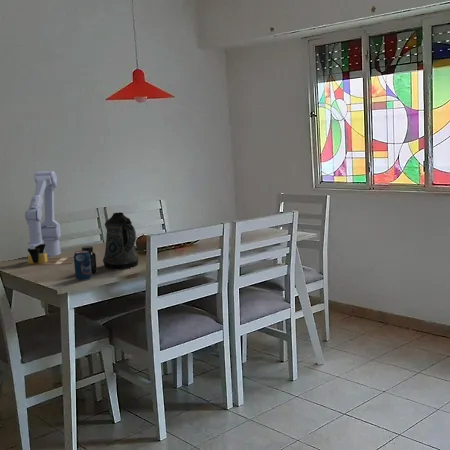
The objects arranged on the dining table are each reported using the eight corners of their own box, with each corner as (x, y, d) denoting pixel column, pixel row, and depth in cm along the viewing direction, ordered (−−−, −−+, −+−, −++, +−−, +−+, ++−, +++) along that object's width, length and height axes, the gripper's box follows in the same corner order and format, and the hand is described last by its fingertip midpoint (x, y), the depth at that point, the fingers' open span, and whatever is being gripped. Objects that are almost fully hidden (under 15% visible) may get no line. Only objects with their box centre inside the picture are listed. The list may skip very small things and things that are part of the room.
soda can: (85, 281, 259) (83, 253, 257) (72, 280, 262) (69, 253, 260) (95, 277, 265) (93, 250, 263) (82, 276, 268) (79, 249, 266)
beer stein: (114, 261, 296) (110, 210, 292) (150, 262, 290) (147, 210, 286) (96, 269, 281) (92, 215, 277) (134, 270, 274) (129, 215, 270)
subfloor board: (31, 261, 307) (31, 259, 306) (79, 258, 307) (78, 256, 306) (21, 268, 291) (21, 266, 291) (71, 265, 291) (71, 263, 291)
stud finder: (31, 261, 300) (30, 253, 300) (47, 260, 300) (46, 252, 300) (28, 263, 296) (27, 255, 295) (45, 262, 296) (44, 254, 295)
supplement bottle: (78, 274, 273) (76, 248, 271) (87, 270, 279) (84, 245, 277) (91, 274, 270) (89, 248, 268) (100, 271, 276) (97, 245, 274)
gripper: (31, 231, 303) (34, 258, 305) (22, 236, 289) (25, 264, 291) (45, 230, 303) (48, 257, 305) (37, 235, 289) (40, 263, 291)
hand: (38, 260), depth 298 cm, fingers open, 7 cm apart
